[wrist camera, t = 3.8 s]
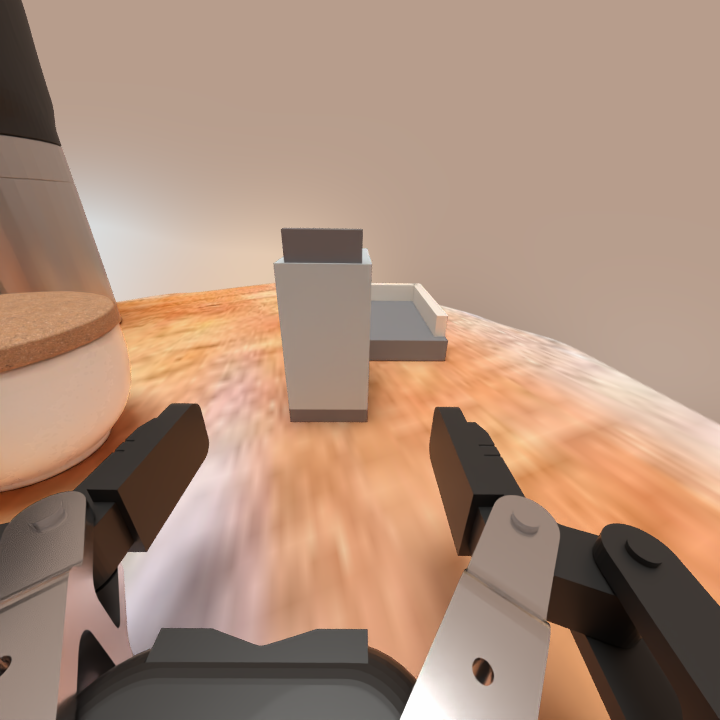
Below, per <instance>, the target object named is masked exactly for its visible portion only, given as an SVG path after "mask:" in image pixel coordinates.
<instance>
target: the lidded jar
mask: <svg viewBox="0 0 720 720" xmlns="http://www.w3.org/2000/svg"><path fill="white" fill-rule="evenodd" d="M130 388H131V366H130V360H129V354H128V349H127V345H126V342H125V338H124V335H123V332H122V329H121V327H120V324H119V314H118V311H117V308H116V305H115V303H114V302H113V301H112V300H111V299H110V298H108V297H106V296H103V295H99V294H94V293H86V292H73V291H48V292H27V293H12V294H1V295H0V492H3V491H8V490H13V489H18V488H21V487H25V486H29V485H32V484H35V483H37V482H40V481H43V480H46V479H48V478H50V477H53V476H55V475H57V474H59V473H61V472H64V471H66V470H68V469H69V468H71V467H73V466H75V465H77V464H78V463H80V462H81V461H83V460H84V459H86V458H87V457H89V456H90V455H91V454H93V453H94V452H95V451H96V450H97V449H99V448H100V447H101V446H102V445H103V443H104V442H105V441H106V440H107V438H108V437H109V435H110V432H111V428H112V427H113V425H114V424H115V423H116V421H117V420H118V418H119V417H120V415H121V413H122V412H123V410H124V408H125V406H126V403H127V400H128V397H129V394H130Z"/></svg>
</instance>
